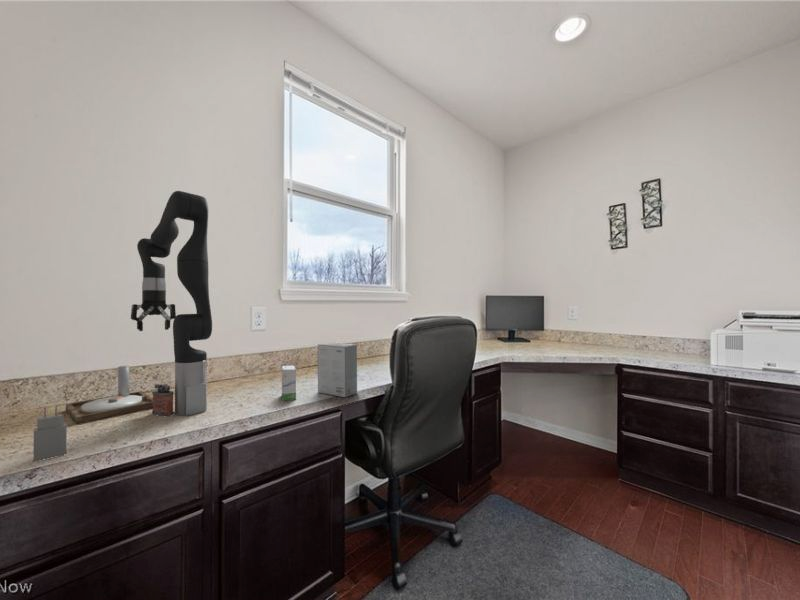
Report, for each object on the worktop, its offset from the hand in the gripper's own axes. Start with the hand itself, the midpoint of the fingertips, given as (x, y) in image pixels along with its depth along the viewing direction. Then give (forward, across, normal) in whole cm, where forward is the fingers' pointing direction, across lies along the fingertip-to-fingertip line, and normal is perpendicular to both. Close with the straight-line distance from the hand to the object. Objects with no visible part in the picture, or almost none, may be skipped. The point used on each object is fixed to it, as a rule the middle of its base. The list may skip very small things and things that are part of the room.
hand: (154, 330), depth 131 cm
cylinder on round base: (+25, -14, -8) cm, 30 cm away
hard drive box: (+26, +48, -54) cm, 77 cm away
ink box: (+26, +32, -44) cm, 60 cm away
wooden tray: (+26, -14, -8) cm, 31 cm away
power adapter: (+26, -32, -42) cm, 59 cm away
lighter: (+26, -5, -28) cm, 39 cm away
